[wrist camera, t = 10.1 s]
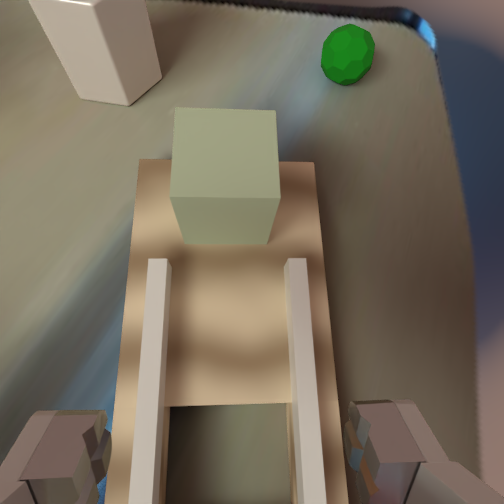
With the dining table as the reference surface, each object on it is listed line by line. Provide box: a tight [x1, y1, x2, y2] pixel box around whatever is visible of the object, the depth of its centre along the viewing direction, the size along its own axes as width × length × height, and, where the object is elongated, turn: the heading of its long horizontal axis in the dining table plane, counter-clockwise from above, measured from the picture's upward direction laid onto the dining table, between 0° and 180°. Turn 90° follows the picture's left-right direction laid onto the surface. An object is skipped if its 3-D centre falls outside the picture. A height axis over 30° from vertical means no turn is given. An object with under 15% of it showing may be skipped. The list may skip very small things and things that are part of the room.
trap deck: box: [105, 159, 349, 504], centre depth 24 cm, size 28×14×2 cm, turn 2°
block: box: [169, 107, 281, 244], centre depth 23 cm, size 6×6×7 cm
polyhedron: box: [321, 24, 375, 85], centre depth 33 cm, size 5×5×5 cm
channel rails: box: [128, 258, 327, 504], centre depth 20 cm, size 19×10×2 cm, turn 2°
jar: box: [28, 0, 162, 106], centre depth 27 cm, size 9×8×12 cm
